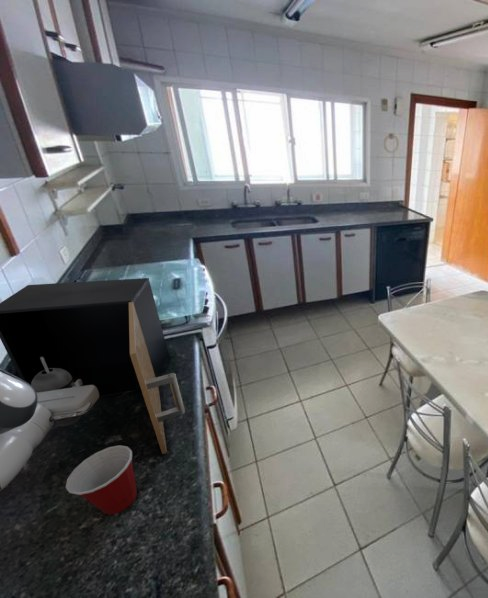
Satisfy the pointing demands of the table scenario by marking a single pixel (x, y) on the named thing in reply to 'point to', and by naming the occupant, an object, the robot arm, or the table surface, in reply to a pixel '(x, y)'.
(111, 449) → the plastic cup
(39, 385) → the beverage cup
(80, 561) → the table surface
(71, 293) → the box
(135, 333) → the fridge door
